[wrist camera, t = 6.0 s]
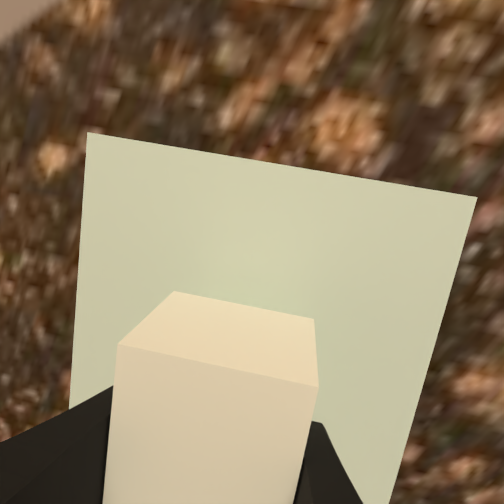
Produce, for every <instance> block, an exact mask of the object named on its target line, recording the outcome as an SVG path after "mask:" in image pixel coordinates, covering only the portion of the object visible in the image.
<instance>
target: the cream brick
mask: <svg viewBox="0 0 504 504" xmlns="http://www.w3.org/2000/svg"><path fill="white" fill-rule="evenodd" d="M318 389H319V381H318V367H317V353H316V339H315V325H314V319H312V318H307V317H302V316H297V315H292V314H287V313H282V312H277V311H272V310H267V309H262V308H257V307H252V306H247V305H242V304H237V303H232V302H227V301H222V300H217V299H212V298H207V297H202V296H197V295H192V294H187V293H182V292H177V291H173V292H172V293H171V294H170V295H169V296H168V297H167V298H166V299H165V300H164V301H163V302H162V303H160V304H159V305H158V306H157V307H156V308H155V309H154V310H153V311H152V312H151V313H150V314H149V315H148V316H147V317H146V318H144V319H143V320H142V321H141V322H140V323H139V324H138V325H137V326H136V327H135V328H134V329H133V330H132V331H131V332H130V333H128V334H127V335H126V336H125V337H124V338H123V339H122V340H121V341H120V342H119V343H118V344H117V354H116V365H115V376H114V386H113V397H112V408H111V418H110V429H109V440H108V451H107V461H106V472H105V483H104V494H103V504H293V501H294V496H295V492H296V488H297V483H298V479H299V474H300V470H301V465H302V461H303V456H304V452H305V447H306V443H307V438H308V434H309V430H310V425H311V421H312V416H313V412H314V407H315V403H316V398H317V394H318Z"/></svg>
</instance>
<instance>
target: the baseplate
mask: <svg viewBox="0 0 504 504" xmlns="http://www.w3.org/2000/svg"><path fill="white" fill-rule="evenodd" d="M476 200H477V197H472V196H466V195H460V194H454V193H448V192H442V191H436V190H430V189H424V188H418V187H412V186H406V185H400V184H394V183H388V182H382V181H376V180H370V179H364V178H358V177H352V176H346V175H340V174H334V173H328V172H322V171H316V170H310V169H304V168H298V167H292V166H286V165H280V164H274V163H268V162H262V161H256V160H250V159H244V158H238V157H232V156H226V155H220V154H214V153H208V152H202V151H196V150H190V149H184V148H178V147H172V146H166V145H160V144H154V143H148V142H142V141H136V140H130V139H124V138H118V137H112V136H106V135H100V134H94V133H88V132H87V147H86V162H85V177H84V192H83V207H82V222H81V237H80V252H79V267H78V282H77V297H76V312H75V327H74V342H73V357H72V372H71V387H70V402H69V409H71V408H73V407H75V406H76V405H78V404H80V403H82V402H84V401H86V400H87V399H89V398H91V397H93V396H95V395H96V394H98V393H100V392H102V391H104V390H105V389H107V388H109V387H111V386H113V385H114V376H115V365H116V354H117V344H118V343H119V342H120V341H121V340H122V339H123V338H124V337H125V336H126V335H127V334H128V333H130V332H131V331H132V330H133V329H134V328H135V327H136V326H137V325H138V324H139V323H140V322H141V321H142V320H143V319H144V318H146V317H147V316H148V315H149V314H150V313H151V312H152V311H153V310H154V309H155V308H156V307H157V306H158V305H159V304H160V303H162V302H163V301H164V300H165V299H166V298H167V297H168V296H169V295H170V294H171V293H172V292H173V291H177V292H182V293H187V294H192V295H197V296H202V297H207V298H212V299H217V300H222V301H227V302H232V303H237V304H242V305H247V306H252V307H257V308H262V309H267V310H272V311H277V312H282V313H287V314H292V315H297V316H302V317H307V318H312V319H314V325H315V339H316V353H317V367H318V381H319V389H318V394H317V398H316V403H315V407H314V412H313V416H312V421H315V422H320V423H322V424H323V425H324V427H325V429H326V431H327V433H328V436H329V438H330V440H331V442H332V445H333V447H334V449H335V451H336V453H337V455H338V457H339V459H340V461H341V463H342V465H343V467H344V469H345V471H346V473H347V475H348V477H349V479H350V480H351V482H352V484H353V486H354V488H355V490H356V491H357V493H358V495H359V497H360V498H361V500H362V502H363V504H389V501H390V497H391V494H392V490H393V487H394V483H395V480H396V477H397V473H398V470H399V466H400V463H401V459H402V456H403V452H404V449H405V446H406V442H407V439H408V435H409V432H410V428H411V425H412V421H413V418H414V414H415V411H416V408H417V404H418V401H419V397H420V394H421V390H422V387H423V383H424V380H425V376H426V373H427V370H428V366H429V363H430V359H431V356H432V352H433V349H434V345H435V342H436V338H437V335H438V332H439V328H440V325H441V321H442V318H443V314H444V311H445V307H446V304H447V300H448V297H449V294H450V290H451V287H452V283H453V280H454V276H455V273H456V269H457V266H458V262H459V259H460V256H461V252H462V249H463V245H464V242H465V238H466V235H467V231H468V228H469V225H470V221H471V218H472V214H473V211H474V207H475V204H476Z"/></svg>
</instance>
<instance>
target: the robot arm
mask: <svg viewBox="0 0 504 504" xmlns="http://www.w3.org/2000/svg"><path fill="white" fill-rule="evenodd" d="M113 386H114V385H113ZM113 386H111V387H109V388H107V389H105V390H104V391H102V392H100V393H98V394H96V395H95V396H93V397H91V398H89V399H87V400H86V401H84V402H82V403H80V404H78V405H76V406H75V407H73V408H71V409H69V410H67V411H65V412H63V413H62V414H60V415H58V416H56V417H54V418H51V419H49V420H47V421H45V422H43V423H41V424H39V425H37V426H35V427H33V428H31V429H29V430H27V431H25V432H23V433H21V434H19V435H16V436H14V437H12V438H10V439H7V440H5V441H3V442H0V504H103V494H104V483H105V472H106V461H107V451H108V440H109V429H110V418H111V408H112V397H113ZM293 504H363V502H362V500H361V498H360V497H359V495H358V493H357V491H356V490H355V488H354V486H353V484H352V482H351V480H350V479H349V477H348V475H347V473H346V471H345V469H344V467H343V465H342V463H341V461H340V459H339V457H338V455H337V453H336V451H335V449H334V447H333V445H332V442H331V440H330V438H329V436H328V433H327V431H326V429H325V427H324V425H323V424H322V423H320V422H315V421H311V425H310V430H309V434H308V438H307V443H306V447H305V452H304V456H303V461H302V465H301V470H300V474H299V479H298V483H297V488H296V492H295V496H294V501H293Z"/></svg>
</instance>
